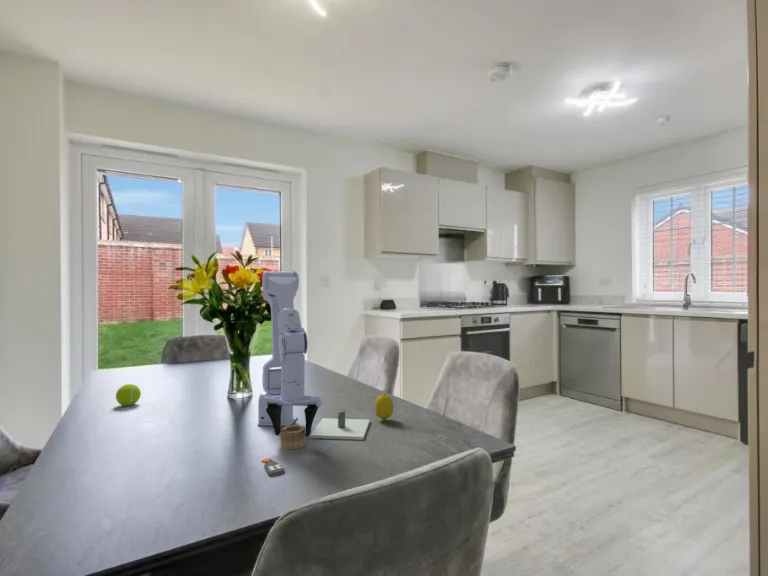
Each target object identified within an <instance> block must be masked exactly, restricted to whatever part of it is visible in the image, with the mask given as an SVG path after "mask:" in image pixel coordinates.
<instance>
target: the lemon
mask: <svg viewBox="0 0 768 576" xmlns="http://www.w3.org/2000/svg"><path fill="white" fill-rule="evenodd" d="M374 412H375V414H376V416H377V417H378V418H379V419H381V420H382V421H386V420H387V419H389V418H390V417H391V416H392V415H393V413H394V403H393V400H392V398H391V396H390V395H388V394H386V393H382V394H380V395H379V396H378V397H377V398H376V399H375V402H374Z"/></svg>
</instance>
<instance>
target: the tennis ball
mask: <svg viewBox="0 0 768 576" xmlns="http://www.w3.org/2000/svg"><path fill="white" fill-rule="evenodd" d="M141 392H142V391H141V389H140V388H139V386H137V385H136V384H131V383H127V384H124V385H122V386H120V387H119V388H118V390H117V391H116V394H115V399H116V402H117V403H118V404H119V405H120V406H123V407H130V406H132V405H134V404H136V403H137V402H138V401H139V399H140V398H141V394H142V393H141Z"/></svg>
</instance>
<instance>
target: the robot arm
mask: <svg viewBox="0 0 768 576" xmlns="http://www.w3.org/2000/svg"><path fill="white" fill-rule="evenodd" d="M261 276H262V279H261V281H262V282H261V283H262V285H261V286H262V288H261V289H262V297H263V300H264V301H265V302H268V303H269V307H270V314H271V315H270V318H271V351H272V352H271V355H272V357H271V358H270V359H268V361H266V362H265V363H264V364H263V366H262V374H261V375H262V378H261V379H262V389H263V391H261V392H260V394H259V398H258V408H257V409H258V421H257V424H256V425H257V426H268V427H269V426H271V427H272V426H273V430H274V435H275V436H276V437H277V436H279V435H281V429H282V427H286V426H291V425H293V423H294V422H295V421H296V420H297V419H298V418H299V417H298V415H294V406H295V407H296V406H297V407H305V408H304V410H303V411H304V418H305V437H310V434H311V433H312V427H313V423H314V419H315V417H316V414H317V413H318V410H319V408H321V407H322V406H323V397H320V396H312V395H306V394H305V391H306V390H305V388H306V387H305V385H306V384H305V382H306V381H305V379H306V377H305V374H306V373H305V372H306V371H305V365H306V364H305V361H306V360H305V354H307V353H308V352H307V351H308V347H309V346H308V343H309V342H308V341H309V340H308V336H307V332H306V331H305V329H304V328H303V326H302V321H301V318H300V313H299V311H298V310H296V309H295V307H294V300H295V297H296V295H297V292H298V290H299V281H300V279H299V273H298V272H297V271H296V270H292V271H284V270H282V271H280V270H278V271H277V270H275V271H274V270H273V271H272V270H264V271H263V273H262V275H261Z"/></svg>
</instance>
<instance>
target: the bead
mask: <svg viewBox="0 0 768 576" xmlns="http://www.w3.org/2000/svg"><path fill="white" fill-rule="evenodd" d="M305 429H306V427H304V425H303V426H302V425H298V424H297V425H296V424H295V425H294V424H291V425H290V426H282V427H281V433H280V446H281V448H282V449H284V450H297V449H298V450H299V449H301V448H303V447H304V446H305V443H306V441H305V440H306V439H305V437H306V435H305Z"/></svg>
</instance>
